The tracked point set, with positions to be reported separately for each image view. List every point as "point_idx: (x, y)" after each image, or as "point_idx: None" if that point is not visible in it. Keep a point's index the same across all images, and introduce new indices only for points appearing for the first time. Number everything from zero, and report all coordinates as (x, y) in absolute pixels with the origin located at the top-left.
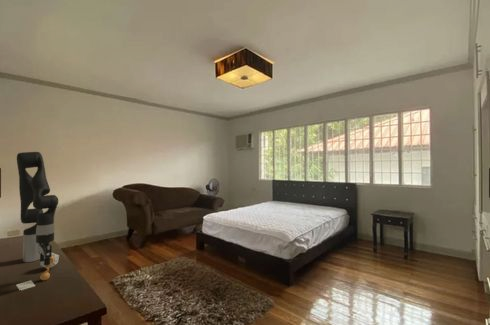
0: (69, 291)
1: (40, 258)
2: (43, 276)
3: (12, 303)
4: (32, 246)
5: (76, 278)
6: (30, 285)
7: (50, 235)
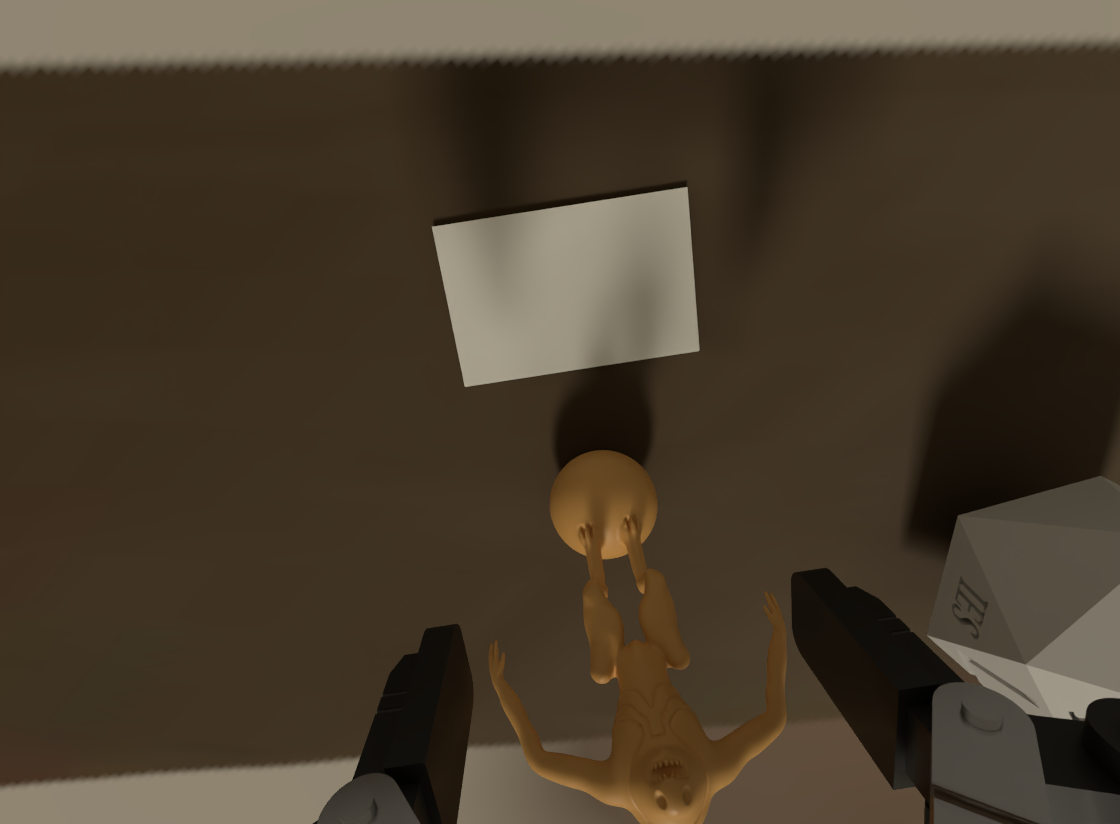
0: (55, 652)
1: (834, 619)
2: (557, 493)
3: (50, 151)
4: None
5: None
6: (513, 340)
7: None
